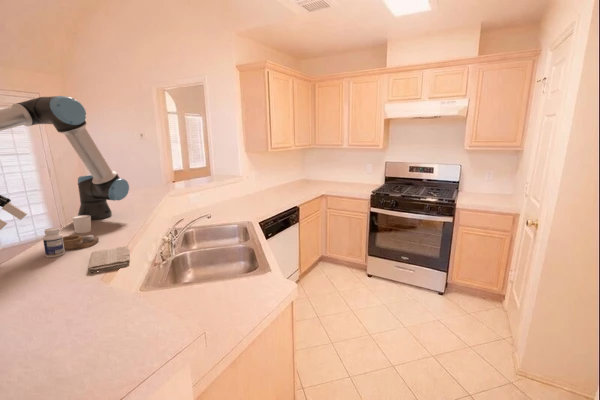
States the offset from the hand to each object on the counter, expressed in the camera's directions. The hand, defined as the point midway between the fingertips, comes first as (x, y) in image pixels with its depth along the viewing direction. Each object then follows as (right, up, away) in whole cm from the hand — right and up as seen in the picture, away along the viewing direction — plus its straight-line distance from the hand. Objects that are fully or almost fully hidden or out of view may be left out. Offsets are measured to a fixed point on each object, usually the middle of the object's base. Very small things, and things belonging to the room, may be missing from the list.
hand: (14, 221), depth 98 cm
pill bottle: (+9, -13, +6) cm, 17 cm away
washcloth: (+32, -15, +2) cm, 35 cm away
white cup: (-2, -7, +34) cm, 35 cm away
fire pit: (+8, -10, +18) cm, 22 cm away
